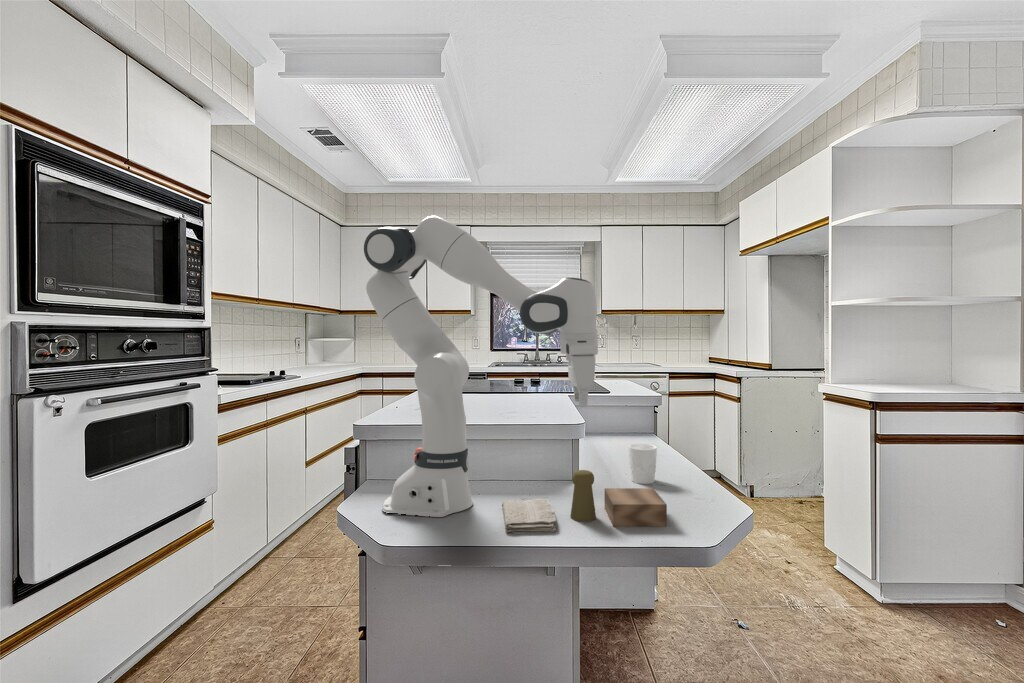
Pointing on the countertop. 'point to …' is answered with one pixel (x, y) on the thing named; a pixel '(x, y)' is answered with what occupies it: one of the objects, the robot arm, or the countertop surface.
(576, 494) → the olive tapered upright piece
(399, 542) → the countertop surface
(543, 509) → the washcloth
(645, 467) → the white cup
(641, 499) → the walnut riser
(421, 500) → the robot arm
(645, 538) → the countertop surface
